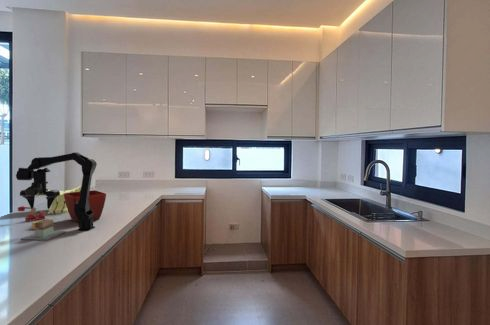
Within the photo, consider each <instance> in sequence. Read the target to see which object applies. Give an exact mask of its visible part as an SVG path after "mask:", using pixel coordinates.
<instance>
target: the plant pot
mask: <svg viewBox="0 0 490 325" xmlns="http://www.w3.org/2000/svg"><path fill="white" fill-rule="evenodd" d="M106 197H107V193H105V192H102V191H99V190H96V189H95V190H94V189H93V190H90V192H89V198H88V201H89V205H90V210H91V211H93V212H94V215H93V216H92V218H93V221H97V220H100V218H101V216H102V214H103V210H104V207H105V203H106V199H107V198H106ZM64 198H65V202H66V206H67V209H68V212H67V213H68V214H69V217H70V219H71V220H72V221H74V222H76V223H78V224H79V219H78V217H77V216H76V214H75V213H74V211H75V210H74V205H75V203H77V202H79V199H80V192H72V193H64ZM73 210H74V211H73Z"/></svg>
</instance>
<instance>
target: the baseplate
mask: <svg viewBox="0 0 490 325" xmlns="http://www.w3.org/2000/svg"><path fill="white" fill-rule="evenodd" d="M65 232H66V233H67V231H66V230H54V226H53V227H50V228H47V229H45V230H35V229H34V232H33V233H31V234H29V235H26V236H24V237H21V238H20V240H21V241H46V242H47V241H50V240H52V239H54V238H57V237H59V236H61V235H63V233H64V234H66V233H65Z"/></svg>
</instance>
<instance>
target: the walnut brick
mask: <svg viewBox="0 0 490 325" xmlns="http://www.w3.org/2000/svg"><path fill="white" fill-rule="evenodd" d="M38 221H39V222H36V221H35V222H36V223H35V229H34V231H35V230H45V229H47V228H50V227H53V228H54V219H47V218H45V219H43V220H42V221H40V220H38Z"/></svg>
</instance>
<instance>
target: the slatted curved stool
mask: <svg viewBox="0 0 490 325" xmlns="http://www.w3.org/2000/svg"><path fill="white" fill-rule="evenodd" d="M81 186H82V184H81V185H79V186H78V187H74V188H72V189H68V190H59V192H60V195H58V196H57V197H56V198H55V199H54V201H53V203H52V205H51V207H50V209H48V212H47V213H46V214H47V215H49V214H50V213H52V214H61V213H62V214H65V212H66V213H69V212H68V209H67V206H66V202H65V198H64V193H72V192H81ZM48 191H50V189H48ZM38 197H47V196H46V195H35V198H38ZM50 215H51V214H50Z"/></svg>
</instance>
